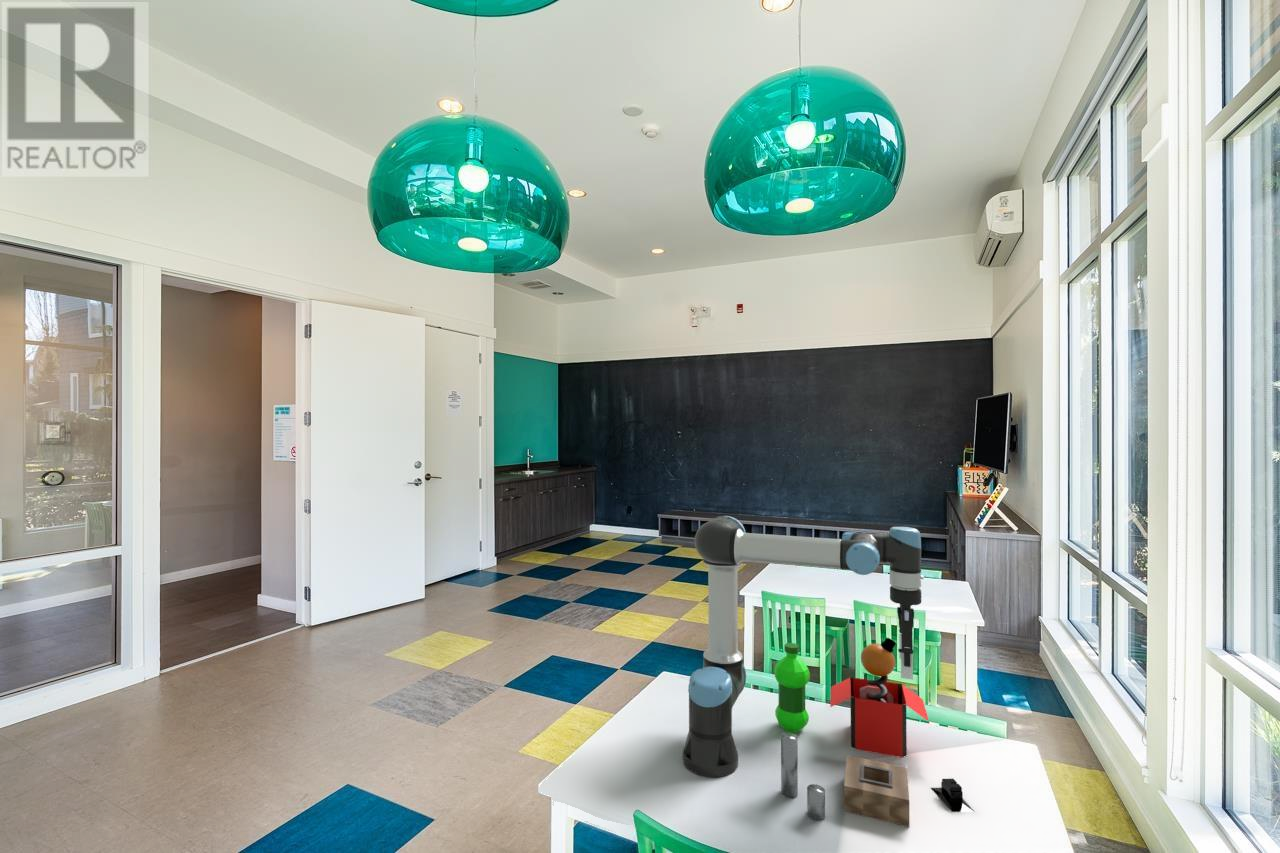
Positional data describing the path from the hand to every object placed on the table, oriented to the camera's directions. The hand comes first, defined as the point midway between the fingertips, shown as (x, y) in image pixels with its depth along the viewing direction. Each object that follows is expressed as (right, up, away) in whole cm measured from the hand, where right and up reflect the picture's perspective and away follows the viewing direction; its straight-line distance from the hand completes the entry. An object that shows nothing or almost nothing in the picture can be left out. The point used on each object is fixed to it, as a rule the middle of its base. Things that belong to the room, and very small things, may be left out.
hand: (905, 668), depth 151 cm
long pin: (-33, -28, -8) cm, 44 cm away
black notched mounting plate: (+7, -29, -10) cm, 31 cm away
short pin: (-28, -28, -16) cm, 43 cm away
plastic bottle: (-23, -29, +24) cm, 44 cm away
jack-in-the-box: (0, -29, +18) cm, 34 cm away
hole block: (-12, -28, -11) cm, 32 cm away
